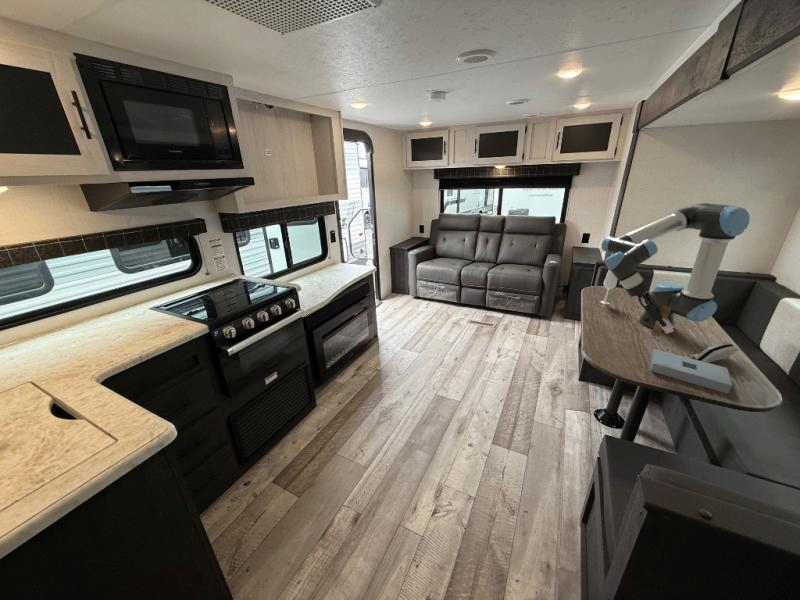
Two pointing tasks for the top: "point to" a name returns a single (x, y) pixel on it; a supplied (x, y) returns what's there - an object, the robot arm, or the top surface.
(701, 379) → the hole block
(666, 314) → the peg
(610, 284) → the champagne flute
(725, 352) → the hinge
